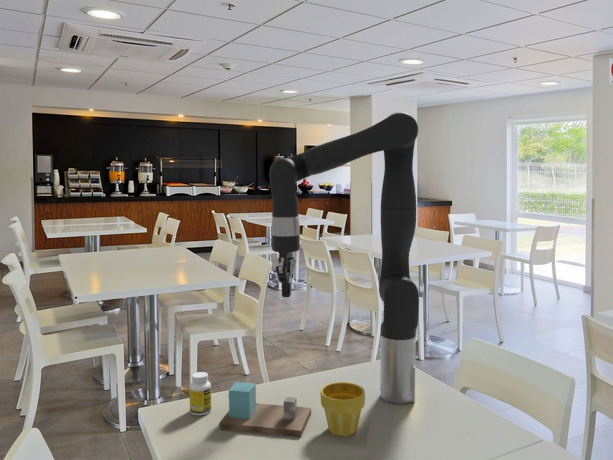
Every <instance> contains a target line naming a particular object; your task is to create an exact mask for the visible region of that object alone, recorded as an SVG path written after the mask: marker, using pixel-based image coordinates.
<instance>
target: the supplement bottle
mask: <svg viewBox="0 0 613 460" xmlns="http://www.w3.org/2000/svg"><path fill="white" fill-rule="evenodd" d="M188 388H189V413H190V414H191V415H193V416H205V415H208V414H209V413H211V411H212V384H211V381H209V373H208V372H205V371H198V372H194V373H193V374H192V375H191V383H190V384H189V386H188Z"/></svg>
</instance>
